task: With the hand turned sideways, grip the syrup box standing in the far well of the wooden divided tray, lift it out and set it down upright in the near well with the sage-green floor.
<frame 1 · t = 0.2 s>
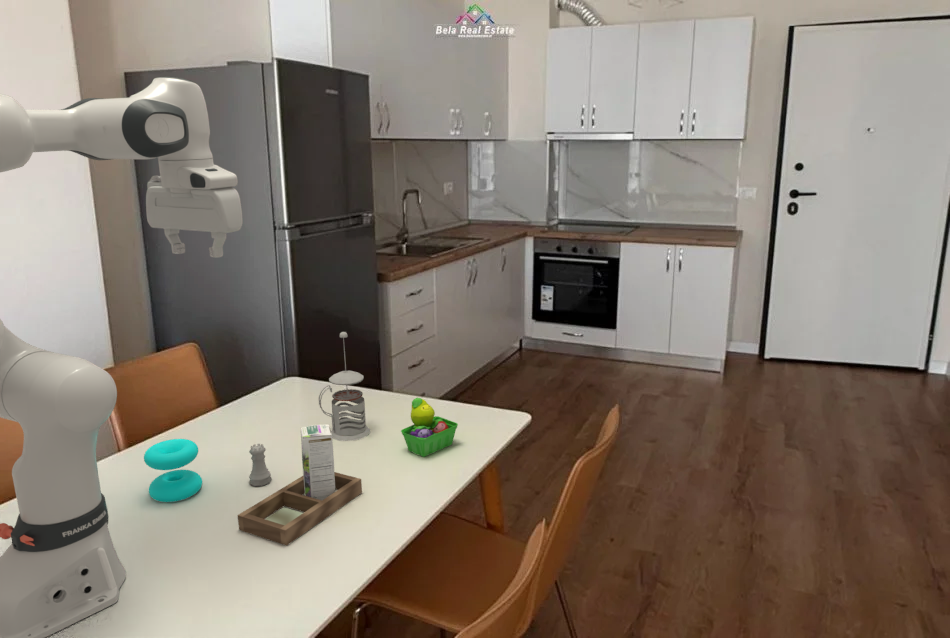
hand: (197, 255, 128), 49 cm above the table, tool pointing down, fingers open, 8 cm apart
rook chess piece: (260, 482, 148), on the table
fruit basket: (428, 448, 163), on the table
french press: (346, 433, 172), on the table
wooden divided tray: (303, 510, 136), on the table
donuts: (176, 493, 145), on the table
syrup box: (321, 500, 141), on the table
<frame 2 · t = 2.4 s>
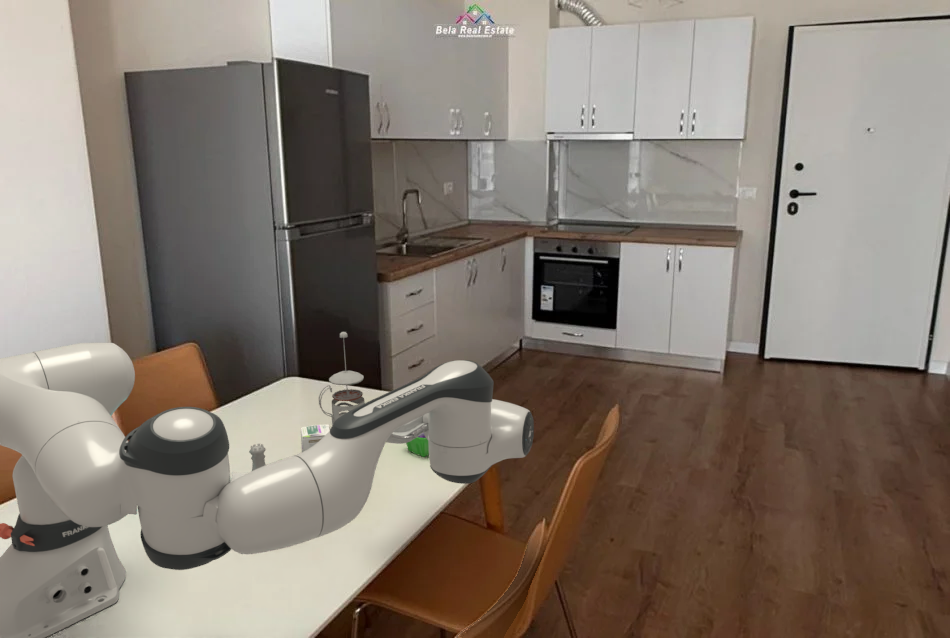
hand: (378, 405, 128), 22 cm above the table, tool horizontal, fingers open, 8 cm apart
nothing on the table moved.
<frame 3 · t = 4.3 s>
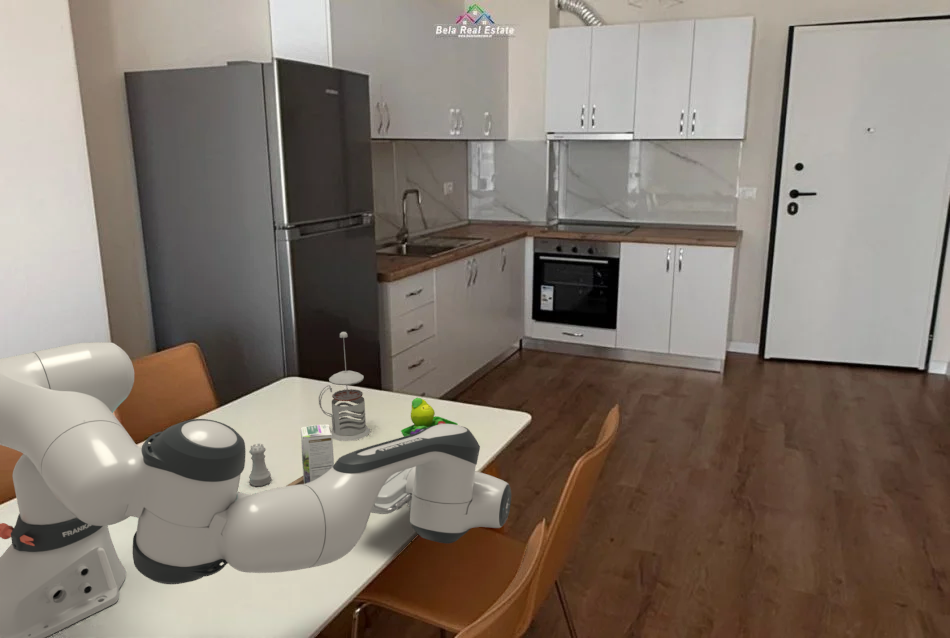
hand: (363, 470, 134), 8 cm above the table, tool horizontal, fingers open, 8 cm apart
nothing on the table moved.
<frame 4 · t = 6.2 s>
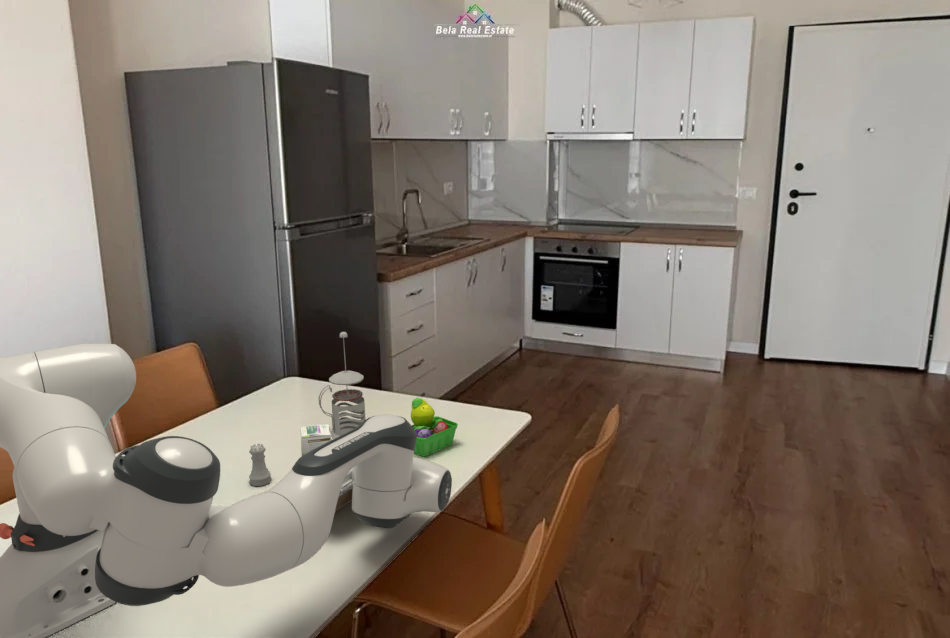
hand: (315, 458, 139), 9 cm above the table, tool horizontal, fingers open, 8 cm apart
nothing on the table moved.
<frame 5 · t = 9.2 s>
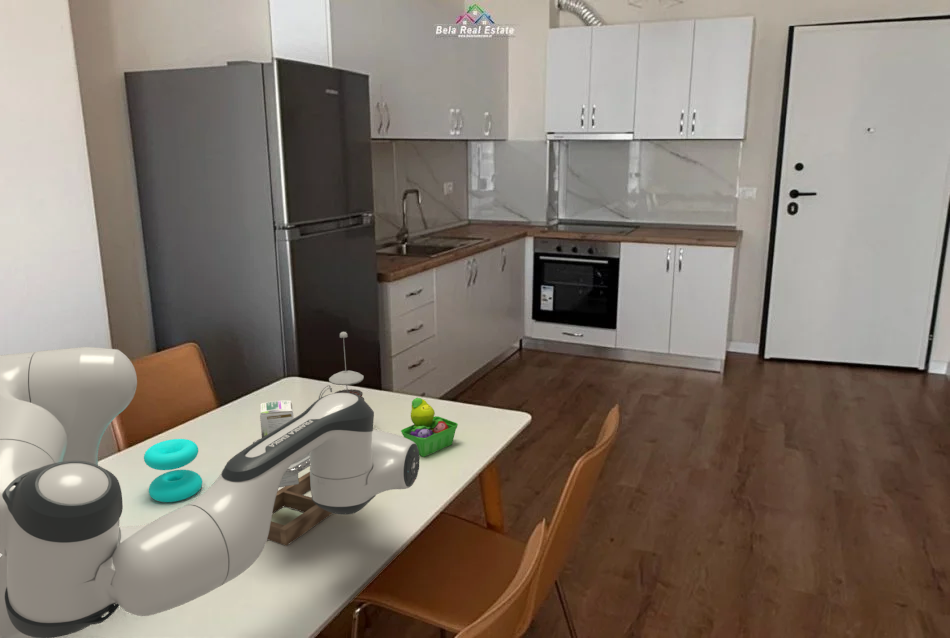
hand: (274, 434, 129), 17 cm above the table, tool horizontal, fingers closed on syrup box, 8 cm apart
syrup box: (283, 481, 131), point 8 cm above the table, touching gripper
everything else where it was.
when the fingers open (10 cm above the table, at t = 11.7 s): syrup box stays where it is, resting on wooden divided tray.
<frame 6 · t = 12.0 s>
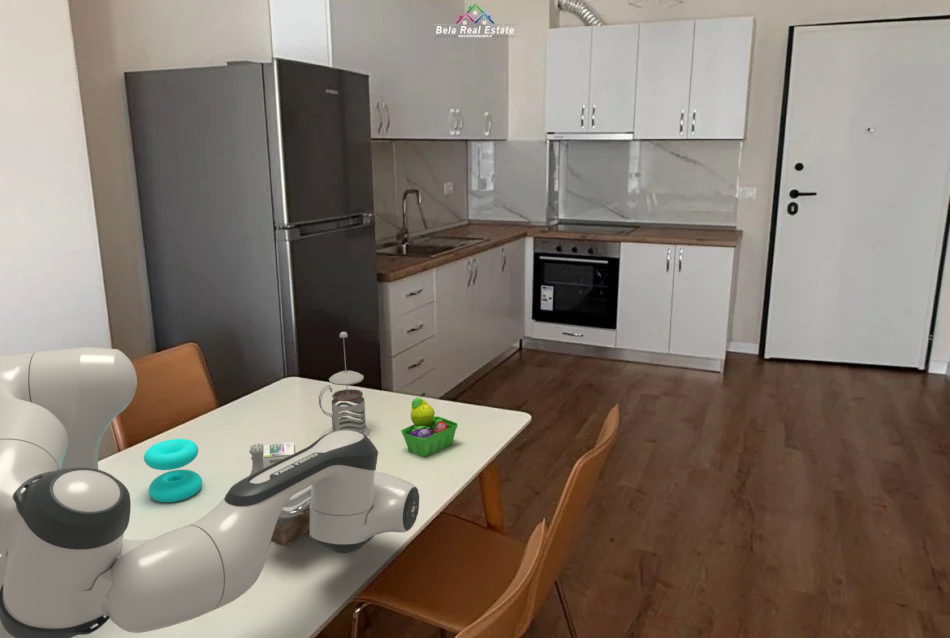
hand: (276, 472, 130), 10 cm above the table, tool horizontal, fingers open, 8 cm apart
syrup box: (285, 522, 132), resting on wooden divided tray
everything else where it was.
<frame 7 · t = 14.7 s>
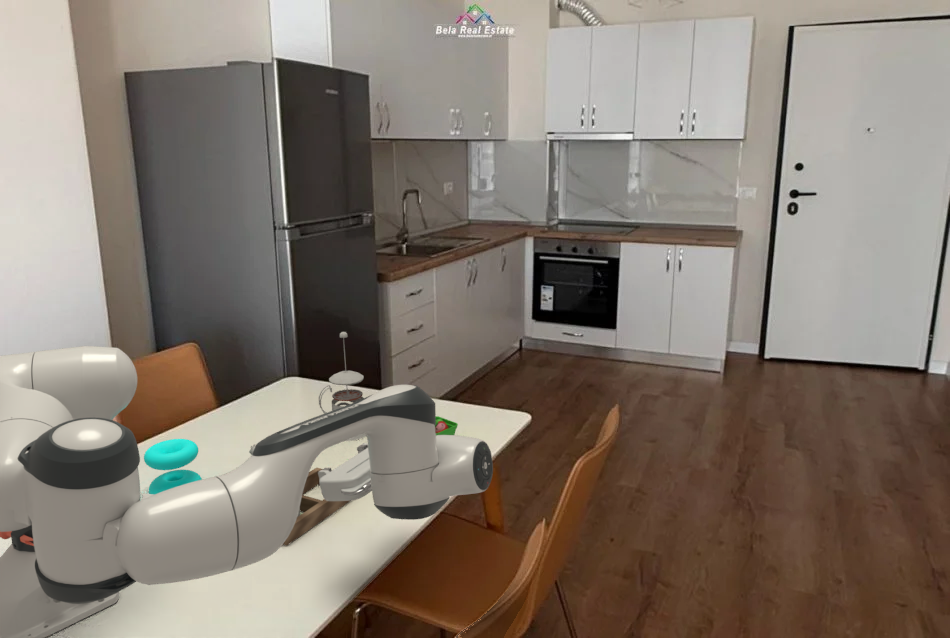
hand: (341, 461, 121), 16 cm above the table, tool horizontal, fingers open, 8 cm apart
nothing on the table moved.
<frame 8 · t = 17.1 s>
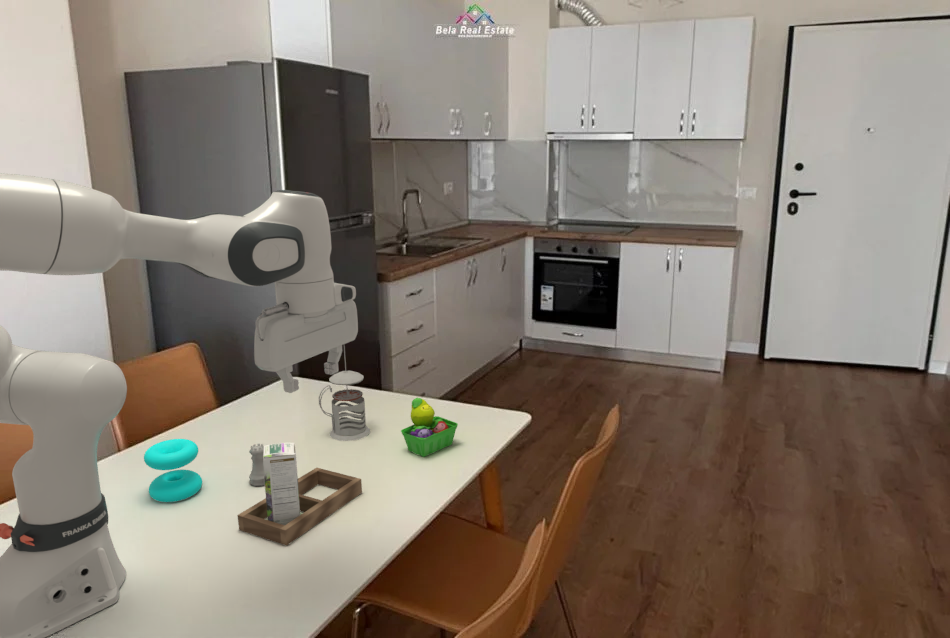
hand: (312, 381, 114), 31 cm above the table, tool pointing down, fingers open, 8 cm apart
nothing on the table moved.
at the end: syrup box 0.1 cm from the target spot on the wooden divided tray, point 0.0 cm above the wooden divided tray's base; syrup box tilted 0°; the gripper is holding nothing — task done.
